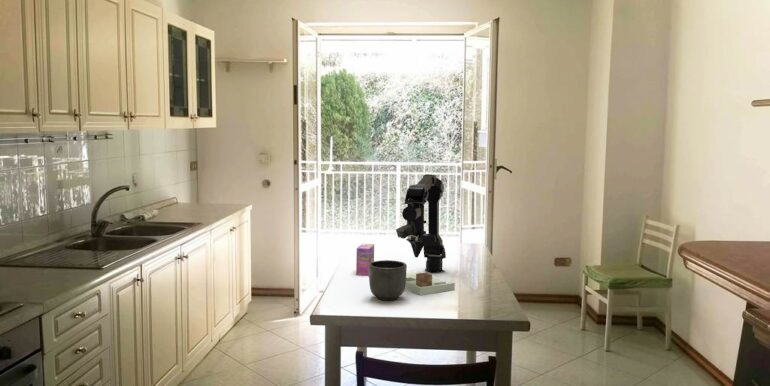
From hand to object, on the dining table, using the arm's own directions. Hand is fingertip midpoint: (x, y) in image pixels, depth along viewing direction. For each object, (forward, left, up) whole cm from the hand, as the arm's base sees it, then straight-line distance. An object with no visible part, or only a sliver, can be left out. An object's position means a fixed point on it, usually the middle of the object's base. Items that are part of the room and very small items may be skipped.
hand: (416, 257), depth 242 cm
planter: (+18, +9, -12) cm, 24 cm away
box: (+6, -31, -12) cm, 34 cm away
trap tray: (-3, -1, -12) cm, 13 cm away
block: (0, +6, -10) cm, 12 cm away
